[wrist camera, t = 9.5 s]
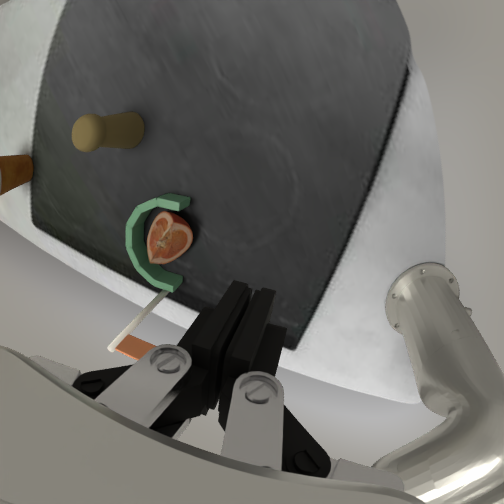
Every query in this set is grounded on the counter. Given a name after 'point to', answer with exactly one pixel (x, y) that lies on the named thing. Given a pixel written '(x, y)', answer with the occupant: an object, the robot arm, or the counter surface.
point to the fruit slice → (168, 238)
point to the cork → (108, 131)
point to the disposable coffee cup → (14, 171)
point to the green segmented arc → (146, 271)
